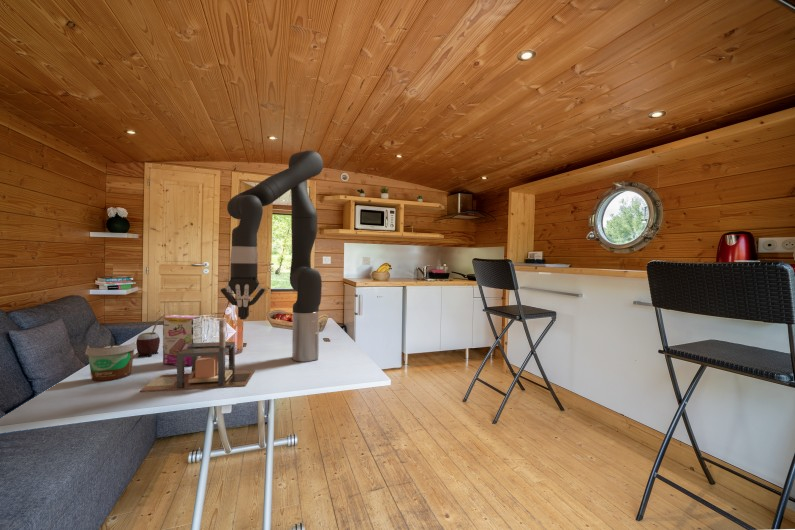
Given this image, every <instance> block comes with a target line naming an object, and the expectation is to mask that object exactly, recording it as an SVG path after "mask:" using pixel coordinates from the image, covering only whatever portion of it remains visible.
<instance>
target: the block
mask: <svg viewBox="0 0 795 530" xmlns="http://www.w3.org/2000/svg"><path fill="white" fill-rule="evenodd" d="M217 374H218V356H201V357H200V358H198V359H197V360H196V361H195V378H205V377H215V376H216V375H217Z"/></svg>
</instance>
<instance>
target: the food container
mask: <svg viewBox="0 0 795 530" xmlns="http://www.w3.org/2000/svg"><path fill="white" fill-rule="evenodd" d="M85 349H86V350H85V353H84V354H85V356H88V363H89V370H90V378H91V381H93V382H97V383H101V382H102V383H103V382H104V383H105V382H113V381H117V380H121V379H124V378H126V377H129V376H131V374H132V368H133V361H134V355H135V354H134V353H135V350H137V346H136V342H135V341H134V342H131V343H129V344H126V345H125V344H124V345H118V344H117V345H113V344H112V345H111V344H110V345H107V346H100V347H93V348H92V347H90V346H89V345H87V347H86V348H85Z"/></svg>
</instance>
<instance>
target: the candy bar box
mask: <svg viewBox="0 0 795 530" xmlns="http://www.w3.org/2000/svg"><path fill="white" fill-rule="evenodd" d="M202 325H203V316H202V315H184V314H171V315H165V316H164V317H162V364H163V365H166V366H167V365H169V366H177V353H179V352H180V351H182V350H183V349H187V347H188V346H190V345H191V344H193V343H203V341H202V340H203V335H202V334H203V333H202V332H203V331H202V330H203V326H202ZM200 357H201V356H198V358H200ZM185 366H188V367H192V357H184V367H185Z"/></svg>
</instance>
